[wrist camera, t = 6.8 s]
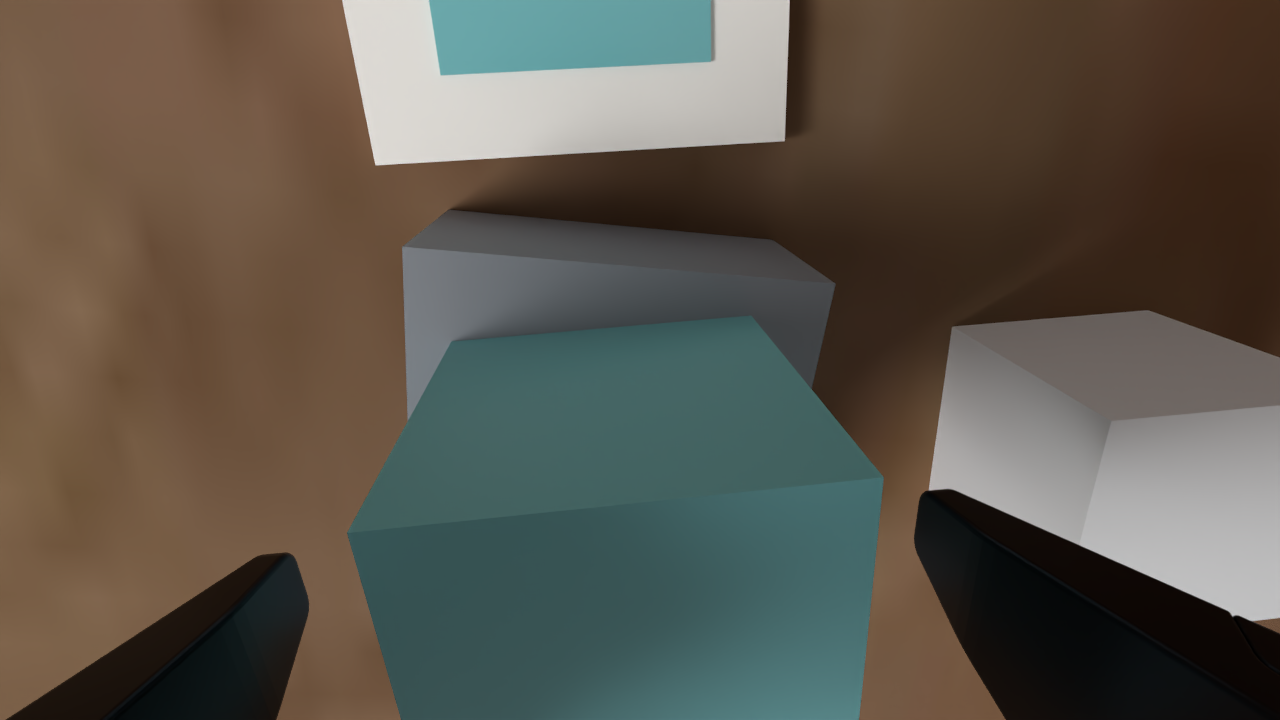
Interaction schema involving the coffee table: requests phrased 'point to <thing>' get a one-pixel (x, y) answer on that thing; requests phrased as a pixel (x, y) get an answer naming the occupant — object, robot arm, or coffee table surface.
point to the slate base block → (596, 285)
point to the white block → (1125, 445)
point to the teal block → (622, 533)
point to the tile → (567, 75)
